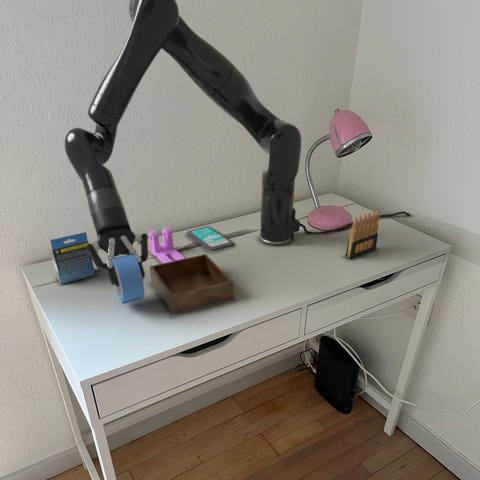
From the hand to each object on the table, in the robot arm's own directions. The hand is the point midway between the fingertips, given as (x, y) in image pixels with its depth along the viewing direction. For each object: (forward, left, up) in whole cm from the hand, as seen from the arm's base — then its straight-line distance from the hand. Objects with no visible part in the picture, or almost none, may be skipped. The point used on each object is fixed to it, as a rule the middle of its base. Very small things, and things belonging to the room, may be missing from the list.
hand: (129, 282), depth 103 cm
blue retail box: (+9, -22, -8) cm, 25 cm away
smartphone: (-31, -27, -7) cm, 42 cm away
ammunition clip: (-66, 0, -8) cm, 67 cm away
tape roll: (0, -2, -5) cm, 5 cm away
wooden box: (-15, -2, -7) cm, 17 cm away
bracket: (-16, -21, -8) cm, 27 cm away
